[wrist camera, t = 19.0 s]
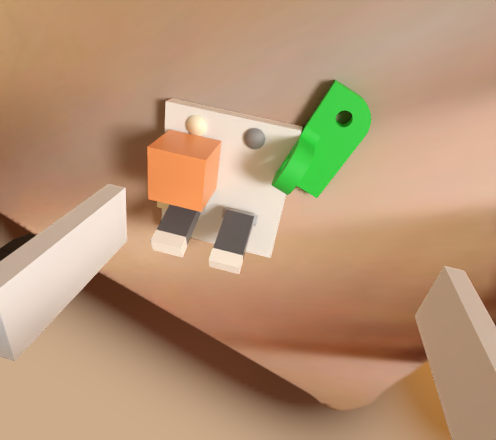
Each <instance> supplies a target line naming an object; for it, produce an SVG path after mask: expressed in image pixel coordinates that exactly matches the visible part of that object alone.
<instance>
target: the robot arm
mask: <svg viewBox="0 0 496 440" xmlns="http://www.w3.org/2000/svg"><path fill="white" fill-rule="evenodd" d="M126 242H127V223H126V189H125V187H121V186H117V185H112V184H107V185H106V186H104V187H103V188H102V189H100V190H99V191H97V192H96V193H95V194H93V195H92V196H90V197H89V198H88V199H86V200H85V201H84V202H82V203H81V204H79V205H78V206H77V207H75V208H74V209H72V210H71V211H70V212H68V213H67V214H65V215H64V216H63V217H61V218H60V219H58V220H57V221H56V222H54V223H53V224H51V225H50V226H49V227H47V228H46V229H45V230H43V231H42V232H40V233H39V234H38V235H33V234H27V235H24V236H22V237H19V238H16V239H14V240H12V241H11V242H9V243H7V244H6V245H5V246H3V247H2V248H0V357H3V358H6V359H10V360H13V361H15V360H16V359H17V358H18V357H19V356H20V355H21V354H22V353H23V352H24V351H25V350H26V349H27V348H28V346H29V345H30V344H31V343H32V342H33V341H34V340H35V339H36V338H37V337H38V336H39V334H40V333H42V331H43V330H44V329H45V328H46V327H47V326H48V325H49V324H50V323H51V322H52V321H53V320H54V319H55V317H56V316H57V315H58V314H59V313H60V312H61V311H62V310H63V309H64V308H65V307H66V306H67V305H68V303H70V301H71V300H72V299H73V298H74V297H75V296H76V295H77V294H78V293H79V292H80V291H81V290H82V289H83V288H84V286H85V285H86V284H87V283H88V282H89V281H90V280H91V279H92V278H93V277H94V276H95V275H96V274H97V273H98V271H99V270H100V269H101V268H102V267H103V266H104V265H105V264H106V263H107V262H108V261H109V260H110V259H111V258H112V256H113V255H114V254H115V253H116V252H117V251H118V250H119V249H120V248H121V247H122V246H123V245H124V244H125V243H126ZM415 318H416V322H417V325H418V328H419V332H420V335H421V338H422V342H423V345H424V348H425V351H426V355H427V358H428V361H429V364H430V368H431V371H432V375H433V378H434V381H435V385H436V388H437V391H438V395H439V398H440V401H441V404H442V408H443V411H444V415H445V418H446V421H447V425H448V428H449V431H450V435H451V438H452V440H496V326H495V324H494V323H493V321H492V319H491V317H490V316H489V314H488V312H487V310H486V308H485V307H484V305H483V303H482V301H481V299H480V298H479V296H478V294H477V292H476V290H475V289H474V287H473V285H472V283H471V282H470V280H469V278H468V276H467V274H466V273H465V271H464V270H460V269H456V268H451V267H447V266H444V267H443V268H442V270H441V272H440V273H439V275H438V277H437V279H436V280H435V282H434V284H433V285H432V287H431V289H430V291H429V292H428V294H427V296H426V297H425V299H424V301H423V302H422V304H421V306H420V308H419V309H418V311H417V313H416V314H415Z"/></svg>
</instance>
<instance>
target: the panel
mask: <svg viewBox="0 0 496 440" xmlns="http://www.w3.org/2000/svg"><path fill="white" fill-rule="evenodd" d="M302 127H303V126H299V125H294V124H290V123H285V122H281V121H276V120H271V119H267V118H262V117H257V116H253V115H248V114H244V113H239V112H234V111H230V110H225V109H221V108H216V107H211V106H207V105H202V104H197V103H193V102H188V101H184V100H179V99H174V98H171V99H169V100H167V101H166V103H165V132H164V134H165V133H166V132H167V131H169V130H175V131H179V132H184V133H188V134H193V135H197V136H202V137H206V138H211V139H215V140H219V141H222V142H221V151H220V160H219V169H218V178H217V187H216V190H215V191H214V193H213V195H212V196H211V198H210V199H209V201H208V202H207V204H206V207H205V211H204V213H201V214H200V217H199V219H198V221H197V224H196V226H195V228H194V231H193V233H192V235H191V238H194V239H198V240H202V241H205V242H209V243H213V244H215V241H216V238H217V235H218V232H219V230H220V227H221V224H222V221H223V218H222V213H223V210H224V208H229V209H233V210H237V211H241V212H246V213H250V214H254V215H258V219H257V223H256V226H253V227H252V230H251V234H250V237H249V241H248V244H247V248H246V251H245V252H249V253H253V254H257V255H261V256H264V257H268V258H271V254H272V250H273V246H274V242H275V238H276V234H277V230H278V225H279V221H280V217H281V213H282V209H283V205H284V201H285V197H286V194H285V193H283V192H281V191H280V190H278V189H276V188H275V187H273V186H272V185H271V184H272V181H273V178H274V176H275V173H276V172H277V170H278V169H279V167H280V166H281V164H282V163H283V161H284V160H285V158H286V157H287V155H288V154H289V152H290V151H291V149H292V148H293V146H294V145H295V143H296V142H297V140H298V139H299V137H300V136H301V132H302ZM168 206H169V204H166V203H162V202H158V201H157V207H158V208H162V218H163V216H164V214H165V212H166V210H167V208H168Z"/></svg>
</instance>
